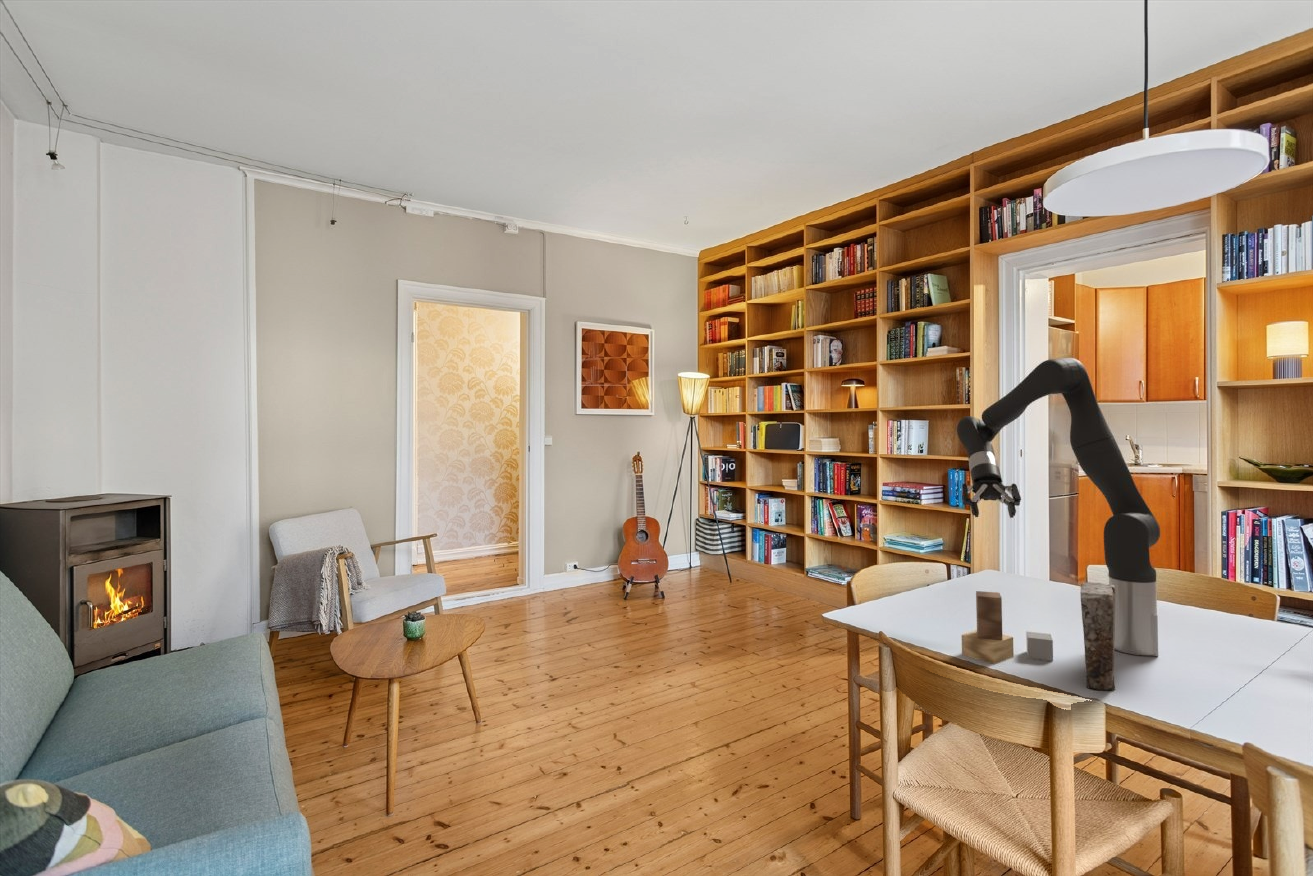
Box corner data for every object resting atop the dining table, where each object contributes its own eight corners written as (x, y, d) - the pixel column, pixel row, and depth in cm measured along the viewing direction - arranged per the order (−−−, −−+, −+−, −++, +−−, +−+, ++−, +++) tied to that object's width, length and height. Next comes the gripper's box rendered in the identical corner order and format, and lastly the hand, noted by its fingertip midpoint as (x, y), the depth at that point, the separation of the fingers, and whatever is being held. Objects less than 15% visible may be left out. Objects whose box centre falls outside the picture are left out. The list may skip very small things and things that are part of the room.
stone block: (1078, 668, 142) (1076, 579, 142) (1116, 673, 139) (1114, 582, 139) (1082, 689, 131) (1080, 592, 131) (1124, 695, 127) (1122, 596, 127)
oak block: (1013, 658, 150) (1013, 637, 150) (994, 665, 146) (994, 643, 146) (981, 649, 157) (980, 628, 157) (961, 655, 153) (961, 634, 153)
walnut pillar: (1000, 634, 152) (999, 592, 152) (1002, 640, 148) (1001, 597, 148) (976, 632, 154) (976, 591, 154) (978, 638, 150) (977, 596, 150)
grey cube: (1050, 654, 151) (1050, 634, 151) (1053, 661, 147) (1052, 640, 147) (1026, 652, 153) (1026, 631, 153) (1028, 658, 149) (1027, 637, 149)
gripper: (959, 462, 181) (967, 506, 170) (1014, 461, 177) (1026, 507, 166) (956, 479, 187) (964, 523, 176) (1010, 479, 183) (1021, 524, 172)
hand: (994, 515), depth 171 cm, fingers open, 8 cm apart
